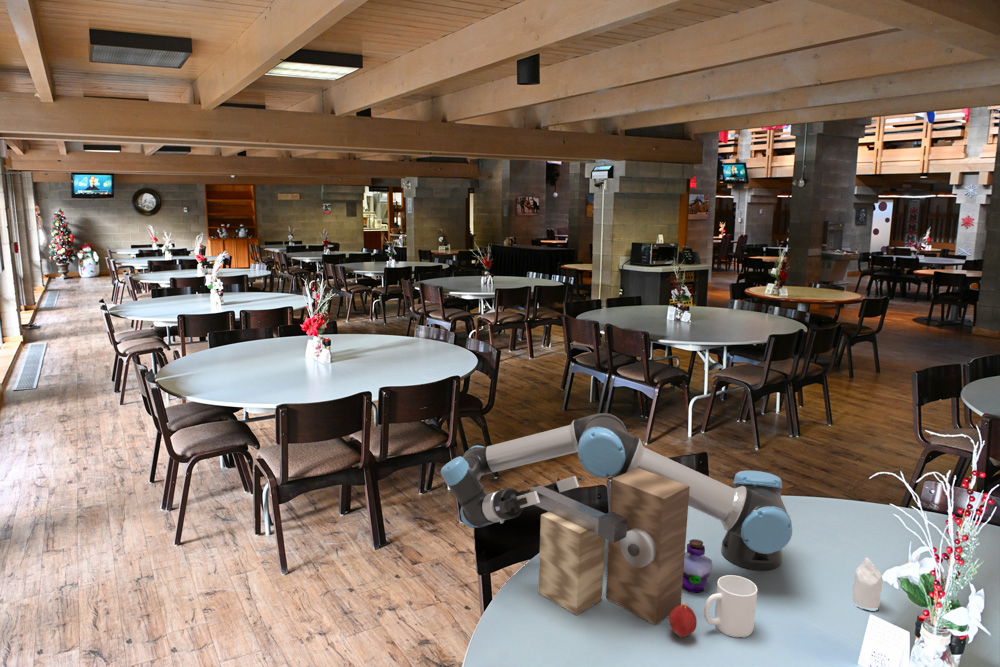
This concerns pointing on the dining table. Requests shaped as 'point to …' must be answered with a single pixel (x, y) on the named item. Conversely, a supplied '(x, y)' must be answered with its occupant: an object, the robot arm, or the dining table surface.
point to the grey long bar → (583, 514)
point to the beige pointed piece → (867, 585)
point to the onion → (682, 620)
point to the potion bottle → (696, 567)
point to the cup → (733, 606)
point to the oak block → (570, 564)
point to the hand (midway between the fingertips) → (557, 489)
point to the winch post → (648, 544)
